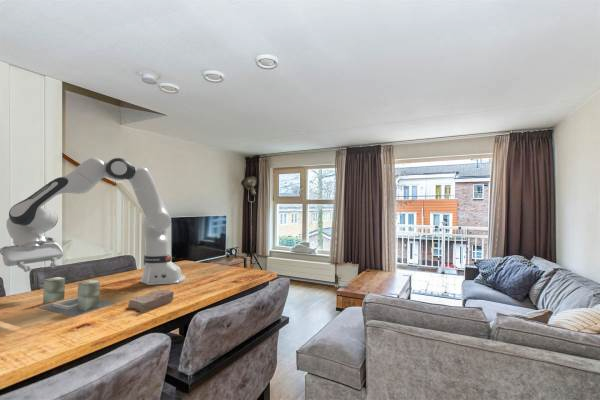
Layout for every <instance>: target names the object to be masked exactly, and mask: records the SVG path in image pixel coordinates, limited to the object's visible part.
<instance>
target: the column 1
mask: <svg viewBox="0 0 600 400" xmlns="http://www.w3.org/2000/svg"><path fill="white" fill-rule="evenodd" d="M65 289H66V277H60V276H57V277H55V276H54V277H51V278H46V279H45V278H44V279H43V297H42V304H43V305H44V304H50V303H55V302H59V301H61V300H62V301H63V300H65V294H66V293H65V292H66V291H65Z"/></svg>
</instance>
